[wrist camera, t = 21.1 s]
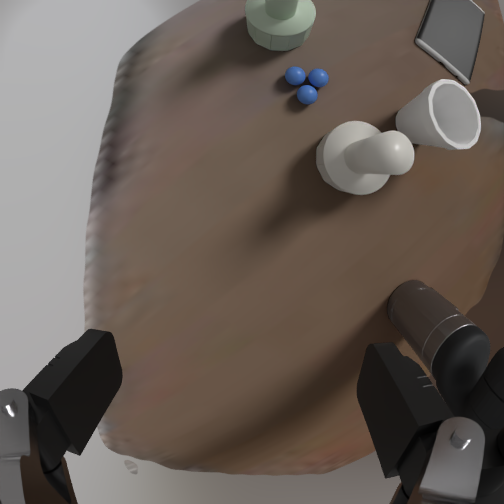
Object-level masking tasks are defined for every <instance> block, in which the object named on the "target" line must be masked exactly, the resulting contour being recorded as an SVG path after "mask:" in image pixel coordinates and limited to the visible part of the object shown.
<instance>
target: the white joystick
mask: <svg viewBox="0 0 504 504" xmlns="http://www.w3.org/2000/svg"><path fill="white" fill-rule="evenodd" d="M413 162H414V149H413V146H412V144H411V142H410V140H409V139H408V138H407V137H406V136H405V135H404V134H402V133H401V132H398V131H387V132H384V133H381V132H380V131H379V130H378V129H377V128H375V127H374V126H372V125H370V124H368V123H365V122H361V121H350V122H346V123H343V124H341V125H339V126H338V127H336V128H335V129H333V130H332V131H330V132H328V133H327V134H325V135H324V137H323V139H322V140H321V142H320V143H319V145H318V147H317V149H316V165H317V168H318V170H319V172H320V174H321V176H322V178H323V180H324V181H325V182H326V183H328V184H329V185H331V186H332V187H334V188H335V189H337V190H339V191H343V192H348V193H352V194H357V195H365V194H370V193H373V192H375V191H377V190H378V189H380V188H381V187H382V186H383V185H384V184H385V183H386V182H387V180H388V178H389V176H390V175H401V174H404V173H406V172H407V171H408V170H409V169H410V168H411V167H412V165H413Z"/></svg>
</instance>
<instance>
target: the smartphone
mask: <svg viewBox="0 0 504 504" xmlns="http://www.w3.org/2000/svg"><path fill="white" fill-rule="evenodd" d="M484 15H485V14H484V11H483V10H482V9H481V8H480V7H478V6H477V5H476V4H475V3H474V2H473V1H472V0H430V2H429V5H428V8H427V10H426V13H425V16H424V18H423V21H422V23H421V26H420V28H419V31H418V34H417V36H416V39H415V42H416V44H417V45H418V46H419V47H421V48H422V49H423V50H425V51H426V52H427V53H428V54H430V55H431V56H432V57H434V58H435V59H436V60H437V61H439V62H440V61H441V62H442V63H443V64H444V65H445V67H446V68H447V69H448V70H449V71H450V72H451V73H453V74H454V75H455V76H456V75H457V76H458V79H459V80H460V81H461V82H462V83H464V84H465V85H467V84H469V83H470V80H471V76H472V72H473V69H474V65H475V61H476V56H477V52H478V48H479V43H480V38H481V33H482V27H483V21H484Z"/></svg>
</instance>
